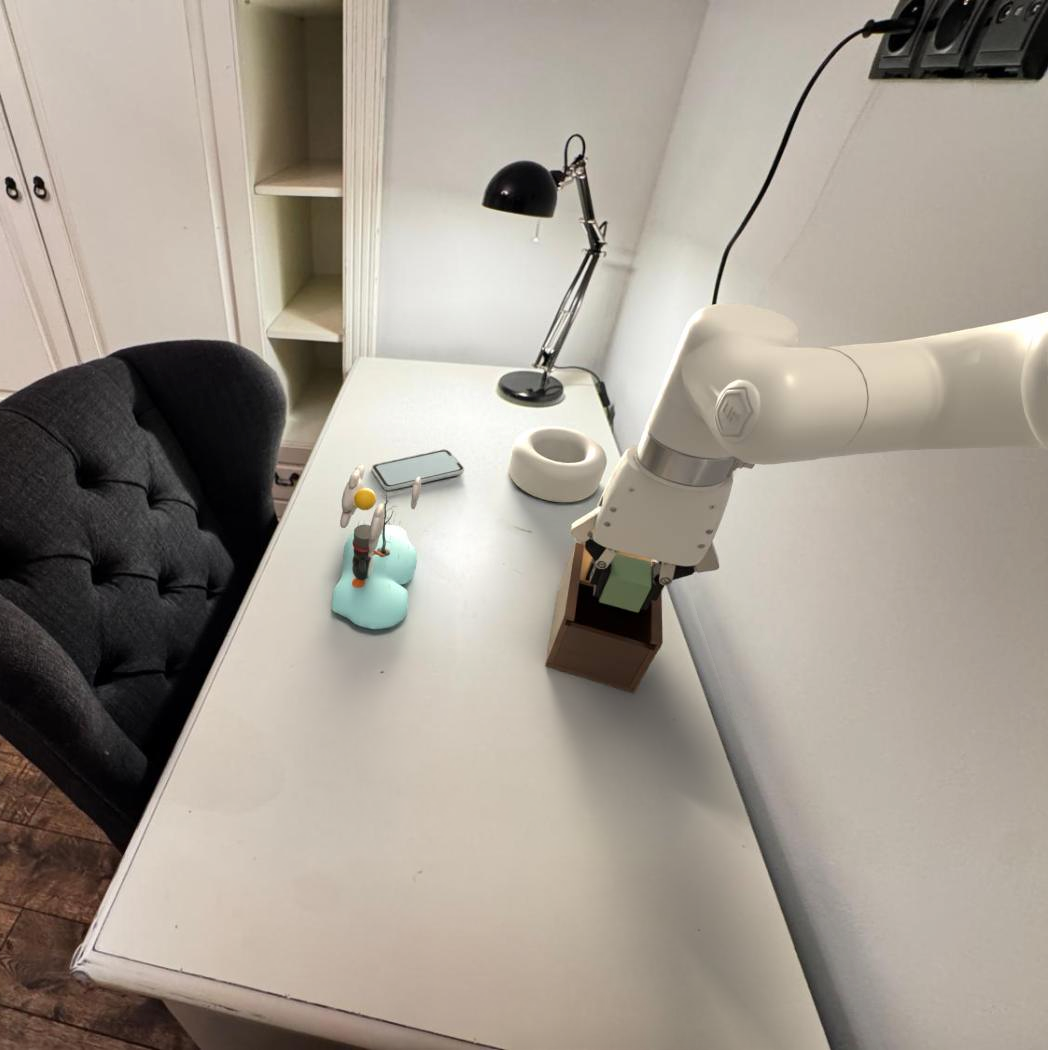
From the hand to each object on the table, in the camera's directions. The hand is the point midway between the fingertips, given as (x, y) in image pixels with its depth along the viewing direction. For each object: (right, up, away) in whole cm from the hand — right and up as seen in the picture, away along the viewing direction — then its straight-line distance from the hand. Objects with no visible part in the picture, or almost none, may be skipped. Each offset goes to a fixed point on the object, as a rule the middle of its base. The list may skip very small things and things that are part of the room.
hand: (620, 593), depth 62 cm
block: (0, 0, 0) cm, 0 cm away
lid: (+4, +3, +9) cm, 10 cm away
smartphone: (-18, +17, +37) cm, 44 cm away
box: (+1, -7, +10) cm, 12 cm away
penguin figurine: (-26, 0, +18) cm, 31 cm away
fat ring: (+5, +15, +36) cm, 39 cm away
